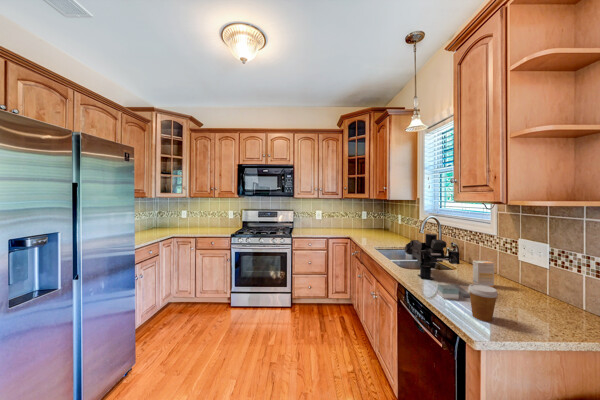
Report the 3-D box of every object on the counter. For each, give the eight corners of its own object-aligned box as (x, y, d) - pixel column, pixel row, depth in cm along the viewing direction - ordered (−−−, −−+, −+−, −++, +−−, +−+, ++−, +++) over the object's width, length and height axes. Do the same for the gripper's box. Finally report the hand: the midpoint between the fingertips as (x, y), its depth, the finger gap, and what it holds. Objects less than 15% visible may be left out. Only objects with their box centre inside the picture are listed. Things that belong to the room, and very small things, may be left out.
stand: (450, 286, 127) (450, 283, 127) (477, 288, 125) (477, 285, 125) (464, 297, 114) (464, 293, 114) (493, 298, 113) (493, 295, 112)
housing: (437, 294, 117) (438, 284, 117) (453, 295, 117) (453, 285, 116) (442, 299, 112) (442, 288, 112) (458, 299, 112) (458, 289, 112)
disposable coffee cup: (471, 309, 102) (471, 281, 102) (499, 318, 95) (500, 288, 95) (464, 317, 96) (465, 287, 95) (494, 326, 88) (495, 294, 88)
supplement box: (488, 284, 131) (488, 260, 131) (494, 287, 126) (494, 262, 126) (472, 283, 132) (472, 260, 132) (477, 286, 127) (478, 262, 127)
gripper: (415, 238, 132) (426, 244, 117) (451, 239, 130) (467, 245, 114) (415, 258, 133) (426, 267, 117) (451, 259, 130) (467, 268, 115)
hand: (446, 261), depth 116 cm, fingers open, 9 cm apart
